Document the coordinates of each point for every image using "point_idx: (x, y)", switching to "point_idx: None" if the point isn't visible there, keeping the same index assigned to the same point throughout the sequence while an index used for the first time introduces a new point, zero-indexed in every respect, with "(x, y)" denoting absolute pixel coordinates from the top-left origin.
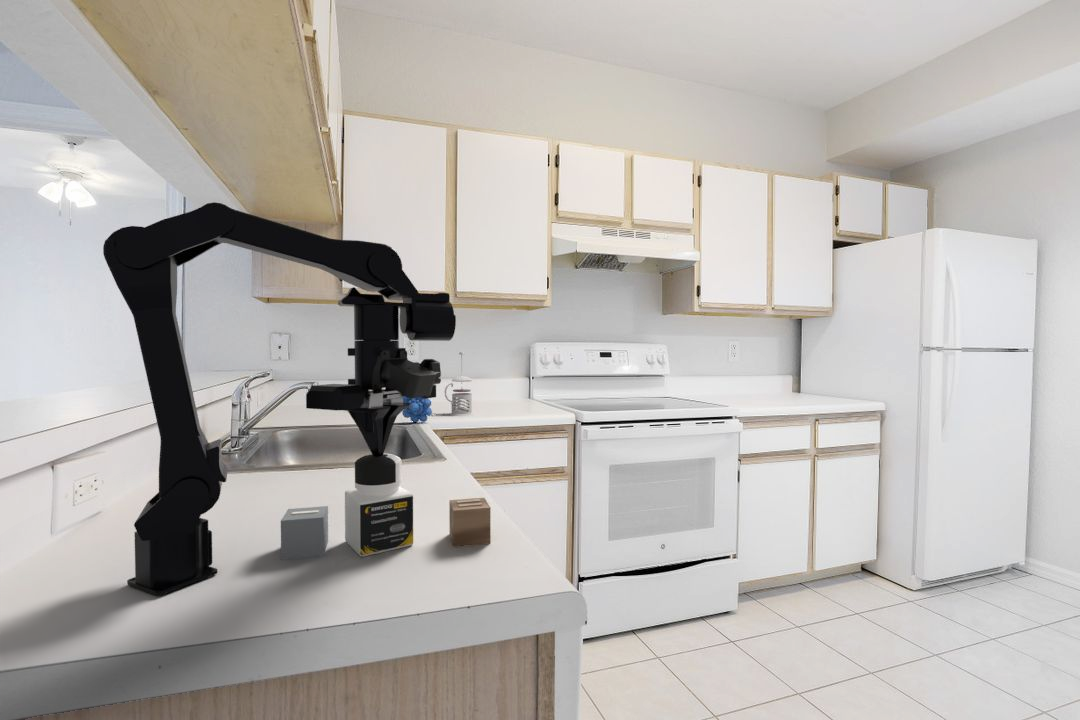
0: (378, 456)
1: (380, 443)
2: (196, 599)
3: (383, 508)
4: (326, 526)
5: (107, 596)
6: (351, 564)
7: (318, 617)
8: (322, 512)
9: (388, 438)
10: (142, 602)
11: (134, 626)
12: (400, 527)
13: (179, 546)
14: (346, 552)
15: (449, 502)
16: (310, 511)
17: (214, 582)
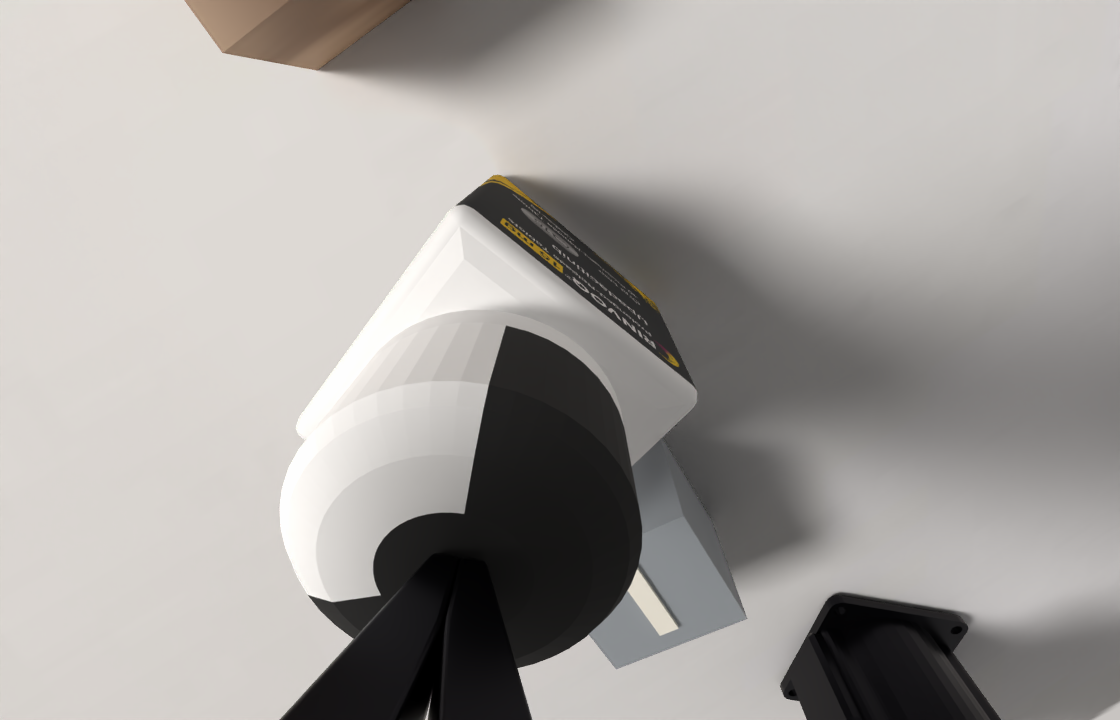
0: (484, 562)
1: (475, 647)
2: (971, 542)
3: (607, 305)
4: None
5: None
6: (715, 305)
7: (1112, 171)
8: None
9: (335, 660)
10: (981, 625)
11: (1100, 560)
12: (539, 223)
13: (975, 713)
14: None
15: (232, 53)
16: (637, 590)
17: (873, 569)
